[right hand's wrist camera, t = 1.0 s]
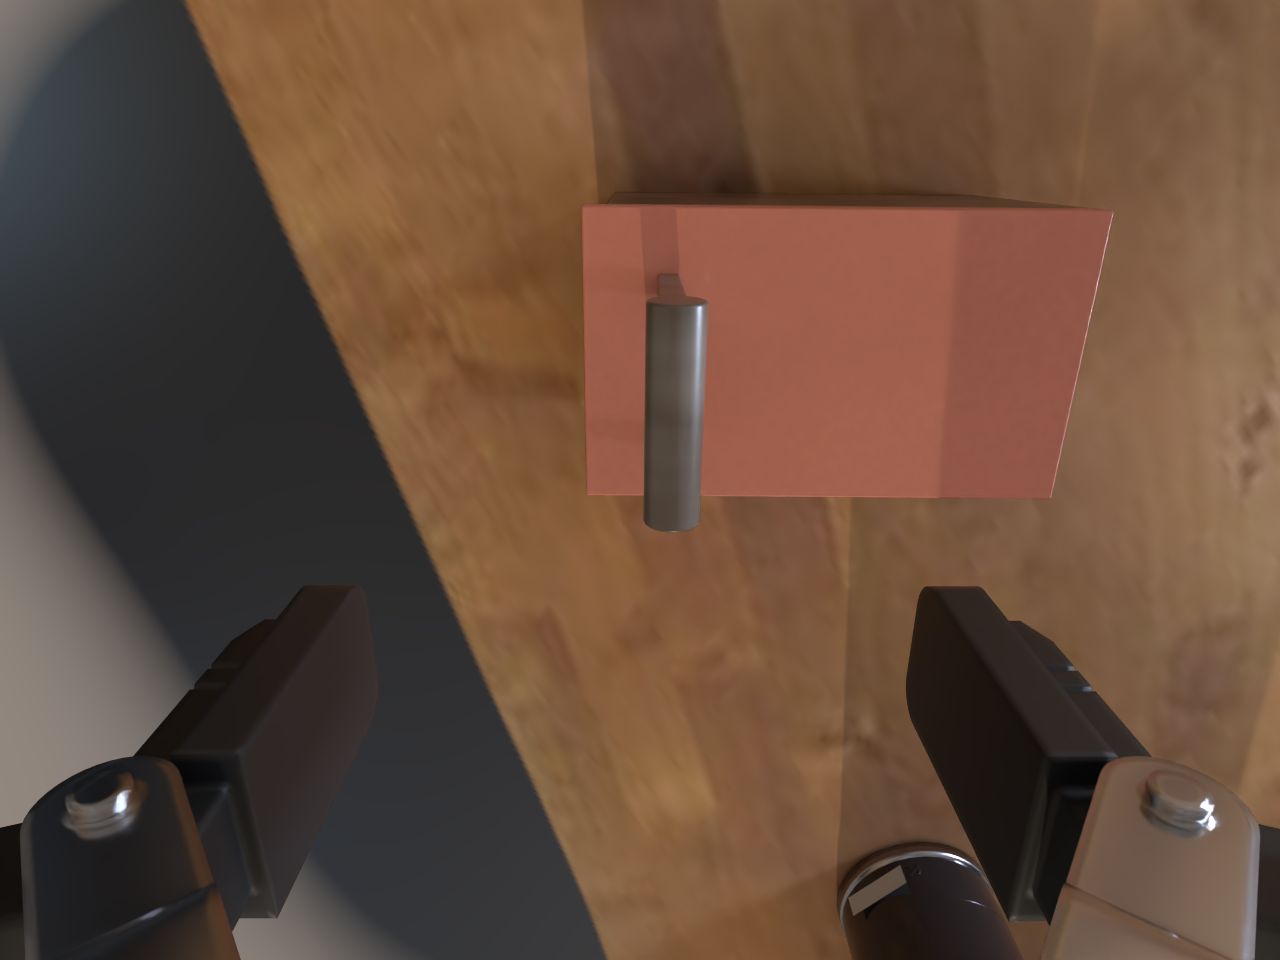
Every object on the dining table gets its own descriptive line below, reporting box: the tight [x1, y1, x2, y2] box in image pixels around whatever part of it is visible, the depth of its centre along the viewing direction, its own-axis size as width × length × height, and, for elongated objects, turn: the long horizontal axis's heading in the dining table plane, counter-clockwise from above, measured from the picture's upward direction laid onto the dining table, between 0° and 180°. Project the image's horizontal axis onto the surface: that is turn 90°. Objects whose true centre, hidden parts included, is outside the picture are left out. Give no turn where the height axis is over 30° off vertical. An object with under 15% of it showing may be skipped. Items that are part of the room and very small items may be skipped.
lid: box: [581, 204, 1113, 533], centre depth 23 cm, size 16×10×8 cm, turn 90°
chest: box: [607, 192, 1083, 208], centre depth 32 cm, size 16×10×10 cm, turn 90°
